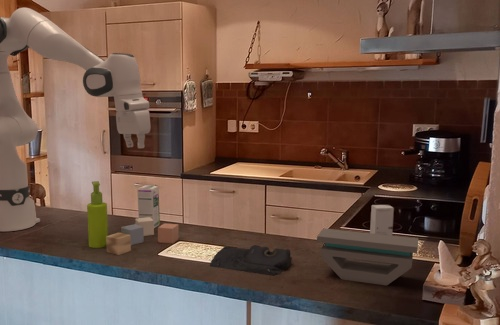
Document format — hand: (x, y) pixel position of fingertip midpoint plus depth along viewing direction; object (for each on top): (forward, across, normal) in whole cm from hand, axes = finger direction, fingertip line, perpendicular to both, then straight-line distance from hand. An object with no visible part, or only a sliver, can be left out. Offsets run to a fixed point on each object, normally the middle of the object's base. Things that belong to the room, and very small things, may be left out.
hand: (135, 147), depth 159 cm
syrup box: (+30, -13, +6) cm, 33 cm away
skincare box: (+39, +45, +60) cm, 85 cm away
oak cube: (+30, +7, -12) cm, 33 cm away
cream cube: (+30, -6, +1) cm, 31 cm away
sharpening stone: (+38, +62, +34) cm, 81 cm away
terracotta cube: (+31, +6, +4) cm, 32 cm away
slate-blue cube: (+30, 0, -6) cm, 30 cm away
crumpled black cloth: (+35, +37, +15) cm, 53 cm away
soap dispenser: (+29, -3, -16) cm, 33 cm away
